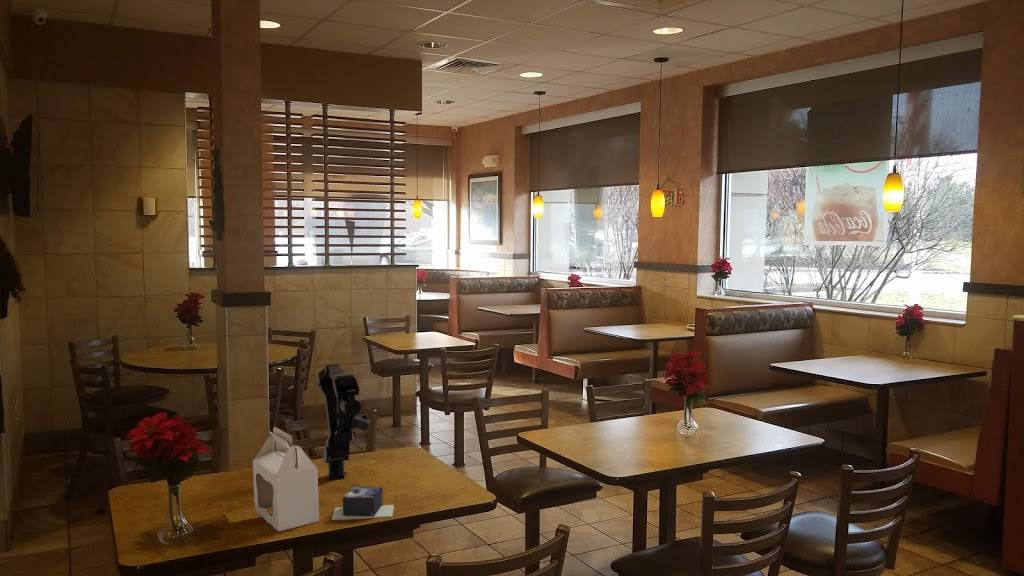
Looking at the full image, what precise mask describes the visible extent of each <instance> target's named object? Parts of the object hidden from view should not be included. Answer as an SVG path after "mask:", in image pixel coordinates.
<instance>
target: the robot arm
mask: <svg viewBox="0 0 1024 576" xmlns="http://www.w3.org/2000/svg"><path fill="white" fill-rule="evenodd" d="M316 385H317V387H318V391H319V393H320V394H321V396H323V398H324V405H325V412H326V413H325V414H326V422H327V430H328V436H327V439H326V441H325V447H324V449H323V452H322V458H323V461H324V463H325V464H327V465H328V467H327V470H328V473H327V476H326V480H339V479H341V480H342V479H345V478H346V476H347V472H346V471H345V461H349V459H350V451H351V442H352V440H354V438H355V435H356V433H357V431H353V430H357V429H359V430H361V431H363V432H368V431H369V427H370V424H371V419H370V418H369V415H368V414H365V413H363V414H362V415H361V416H357V415H359V414H360V412H361V411H362V406H361V403H360V401H359V400H357V399H356V396H360V391H361V390H360V386H359V383H358V380H357V378H356V377H355V375H354V374H352V373H345V371H344V370H343V369H342V368H341V367H340V365H339V364H338V363H332V364H326V365H324V368H323V369H322V370H320V371H319V372H318V373H317V375H316Z"/></svg>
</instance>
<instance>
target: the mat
mask: <svg viewBox="0 0 1024 576" xmlns="http://www.w3.org/2000/svg"><path fill="white" fill-rule="evenodd" d="M394 506H395V505H394V504H383V505H382V506H381V507H380V509H379V510H378V512H377V513H376V514H375V516H345V515H343V506H342V507H335V508H334V511H333V514H332V517H331V521H344V520H362V519H378V518H379V519H380V518H393V516H394V515H393V514H394V508H395V507H394Z"/></svg>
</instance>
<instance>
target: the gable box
mask: <svg viewBox="0 0 1024 576" xmlns="http://www.w3.org/2000/svg"><path fill="white" fill-rule="evenodd" d="M268 433H269V434H270V435H269V436H268V437H267V439H266V440H265V441H264V443H263V445H262V447H261V448H260V449H259V451H258V452H257V454H256V455H255V456H254V458H253V459H252V475H253V495H254V496H253V500H254V505H255V511H256V512H257V513H258V514H259V515H260V516H262V517H263V518H264V519H265V520H266V521H265V520H264V519H263V518H262V517H261V518H262V519H263V520H264V521H265V522H266V523H268V524H269V523H270V524H271V525H272V526H273V527H272V526H271V525H270V524H269V525H270V526H271V527H272V528H274V530H276V531H277V532H278V531H279V532H281V531H282V530H283V531H286V529H287V530H290V529H294V528H298V527H302V526H307V525H309V524H310V525H311V524H315V523H318V522H319V521H320V506H319V483H318V479H319V478H318V467H317V466H316V465H315V464H314V462H312V460H311V459H310V458H309V457H308V455H307V454H306V452H305V451H304V450H303V449H302V447H300V446H298V445H295V443H294V442H295V441H294V436H293V435H292V434H290V433H288V432H286V431H284V430H282V429H281V428H279V427H277V426H274V427H273V429H272V431H271V430H269V431H268ZM271 507H272V508H273V509H271V510H273V511H272V512H273V514H270V513H269V511H268V510H267V509H266V508H271ZM283 531H282V532H283Z"/></svg>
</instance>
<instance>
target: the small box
mask: <svg viewBox="0 0 1024 576" xmlns="http://www.w3.org/2000/svg"><path fill="white" fill-rule="evenodd" d="M383 497H384V491H383V487H381V486H352V487H351V488H350V489H349V490H348V491H347V493H346V494H345V495H343V497H342V507H343V515H345V516H375V514H376V513H377V512H378V510H379V509H380V507H381V506H382V505H384V500H383V499H384V498H383Z"/></svg>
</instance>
